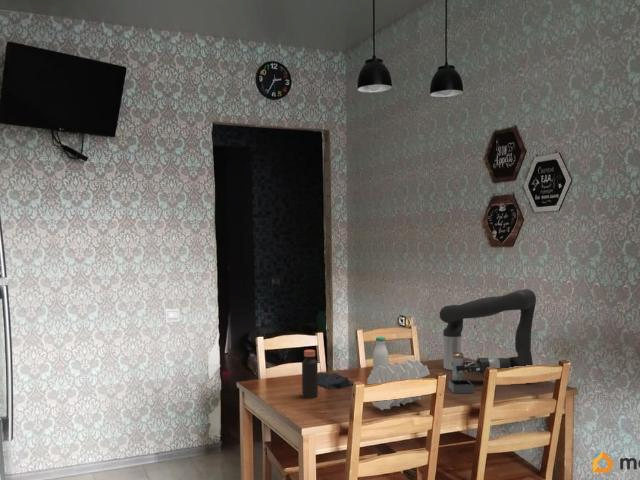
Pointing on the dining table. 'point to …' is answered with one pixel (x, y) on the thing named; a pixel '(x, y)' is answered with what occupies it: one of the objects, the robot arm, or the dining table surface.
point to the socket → (461, 386)
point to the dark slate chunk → (333, 381)
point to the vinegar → (309, 375)
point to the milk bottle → (380, 353)
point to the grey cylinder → (457, 361)
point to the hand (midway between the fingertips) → (454, 366)
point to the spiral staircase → (397, 373)
